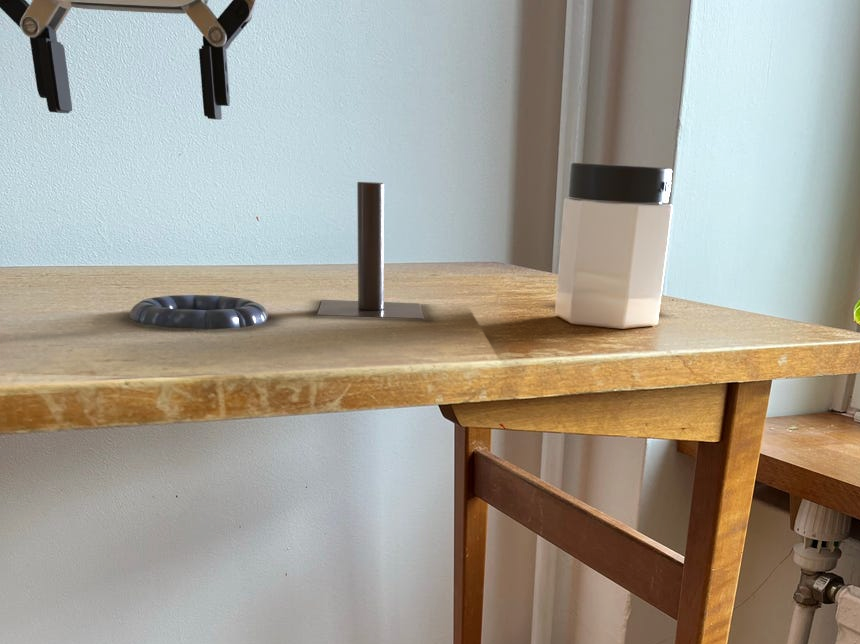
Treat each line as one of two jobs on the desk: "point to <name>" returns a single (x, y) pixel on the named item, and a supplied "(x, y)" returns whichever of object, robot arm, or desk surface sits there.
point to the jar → (613, 245)
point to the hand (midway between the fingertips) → (137, 115)
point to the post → (370, 264)
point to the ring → (198, 312)
